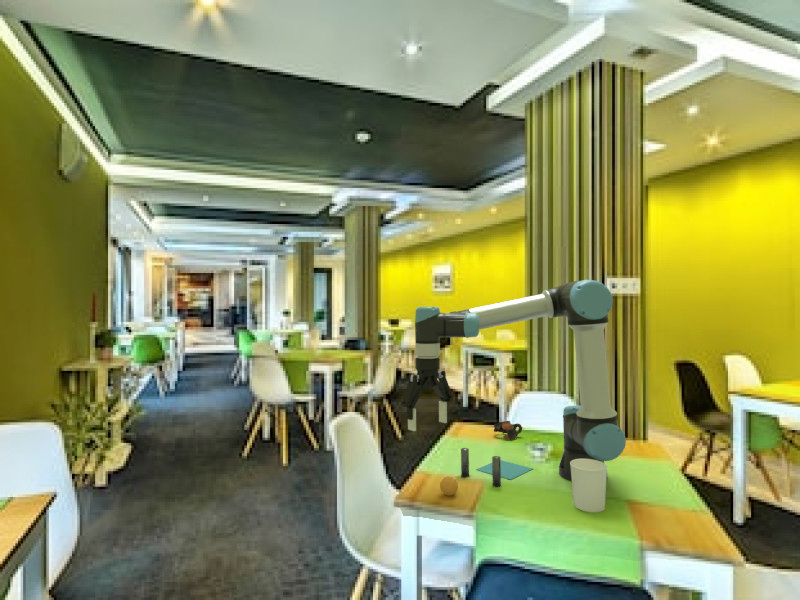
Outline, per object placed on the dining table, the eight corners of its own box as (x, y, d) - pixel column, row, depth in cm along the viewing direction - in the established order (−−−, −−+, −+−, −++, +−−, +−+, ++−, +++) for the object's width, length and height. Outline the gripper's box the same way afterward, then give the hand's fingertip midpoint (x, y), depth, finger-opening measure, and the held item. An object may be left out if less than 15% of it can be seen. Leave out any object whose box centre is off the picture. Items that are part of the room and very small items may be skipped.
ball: (461, 494, 146) (461, 476, 146) (450, 500, 142) (450, 481, 142) (448, 489, 150) (447, 472, 150) (436, 495, 146) (436, 477, 146)
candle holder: (566, 499, 141) (565, 458, 141) (599, 499, 141) (599, 458, 141) (577, 514, 132) (576, 470, 132) (613, 513, 131) (612, 470, 131)
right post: (502, 485, 153) (502, 457, 153) (497, 487, 151) (497, 459, 151) (495, 483, 154) (495, 455, 154) (491, 485, 153) (490, 457, 153)
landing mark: (533, 469, 167) (533, 468, 167) (510, 480, 157) (510, 479, 157) (499, 460, 177) (499, 459, 177) (476, 469, 167) (476, 469, 167)
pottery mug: (498, 442, 200) (492, 423, 204) (497, 446, 208) (491, 428, 212) (526, 435, 200) (519, 416, 204) (524, 439, 208) (517, 420, 212)
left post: (470, 475, 162) (470, 449, 162) (465, 477, 160) (465, 450, 160) (464, 473, 163) (464, 447, 164) (459, 475, 162) (459, 449, 162)
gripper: (445, 352, 159) (446, 417, 159) (388, 359, 142) (389, 431, 142) (463, 354, 153) (463, 421, 153) (406, 361, 136) (406, 436, 136)
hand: (427, 426), depth 147 cm, fingers open, 13 cm apart
